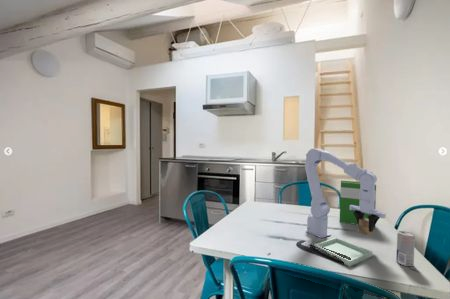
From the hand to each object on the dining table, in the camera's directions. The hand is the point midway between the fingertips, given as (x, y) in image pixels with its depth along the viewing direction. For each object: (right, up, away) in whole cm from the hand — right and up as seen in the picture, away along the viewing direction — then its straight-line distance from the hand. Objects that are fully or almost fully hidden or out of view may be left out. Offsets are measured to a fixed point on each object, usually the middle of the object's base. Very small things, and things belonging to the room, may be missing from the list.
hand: (365, 229), depth 102 cm
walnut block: (0, -2, 0) cm, 2 cm away
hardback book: (+15, -8, +34) cm, 38 cm away
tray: (-13, -8, -5) cm, 16 cm away
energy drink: (+7, -9, -13) cm, 17 cm away
